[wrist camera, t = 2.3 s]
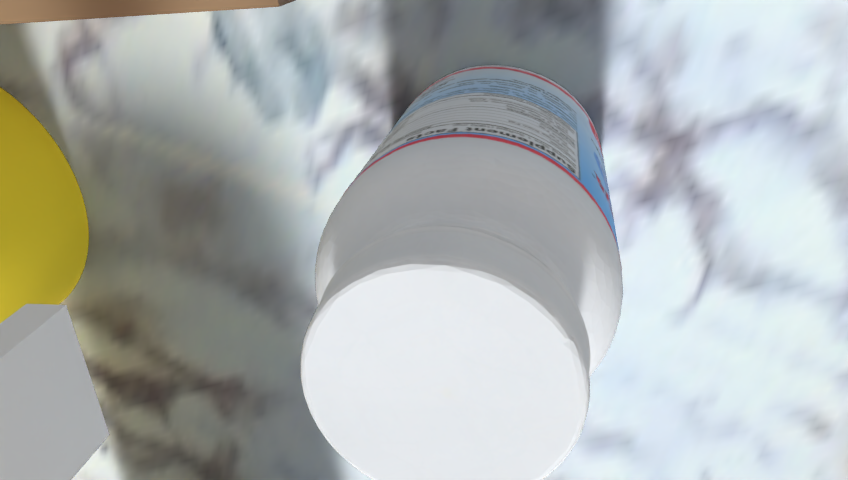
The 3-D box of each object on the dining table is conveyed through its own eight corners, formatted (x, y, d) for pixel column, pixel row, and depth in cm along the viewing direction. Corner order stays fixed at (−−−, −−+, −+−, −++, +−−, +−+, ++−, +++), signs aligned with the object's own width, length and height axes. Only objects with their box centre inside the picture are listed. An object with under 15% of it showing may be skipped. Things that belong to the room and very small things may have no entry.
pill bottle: (560, 278, 22) (560, 583, 12) (375, 219, 23) (229, 472, 13) (636, 94, 20) (715, 297, 10) (424, 29, 20) (286, 162, 10)
